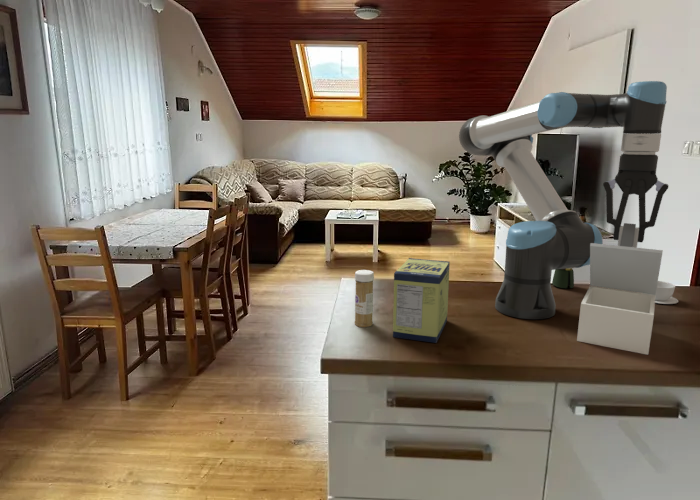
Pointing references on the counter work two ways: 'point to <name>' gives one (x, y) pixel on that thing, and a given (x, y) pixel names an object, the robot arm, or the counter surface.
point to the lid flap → (625, 265)
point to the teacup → (665, 293)
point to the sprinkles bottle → (364, 298)
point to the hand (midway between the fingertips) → (626, 254)
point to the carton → (617, 319)
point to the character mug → (563, 278)
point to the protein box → (420, 299)
